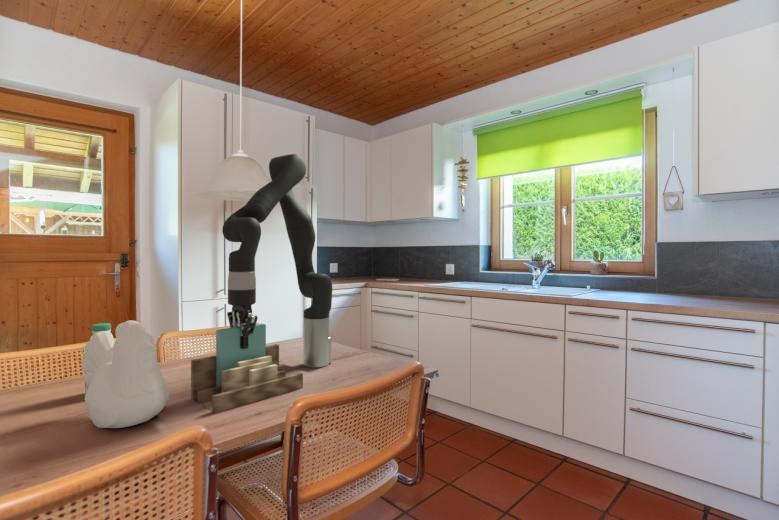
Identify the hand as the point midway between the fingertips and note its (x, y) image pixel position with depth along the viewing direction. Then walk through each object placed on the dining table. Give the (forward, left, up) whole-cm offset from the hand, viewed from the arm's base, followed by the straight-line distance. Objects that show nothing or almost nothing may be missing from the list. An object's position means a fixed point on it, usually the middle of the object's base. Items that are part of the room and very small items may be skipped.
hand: (241, 347), depth 117 cm
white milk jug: (+28, -6, -14) cm, 32 cm away
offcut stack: (0, +5, -12) cm, 13 cm away
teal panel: (0, 0, -12) cm, 12 cm away
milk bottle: (+27, -30, -14) cm, 42 cm away
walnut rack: (0, +4, -14) cm, 14 cm away
